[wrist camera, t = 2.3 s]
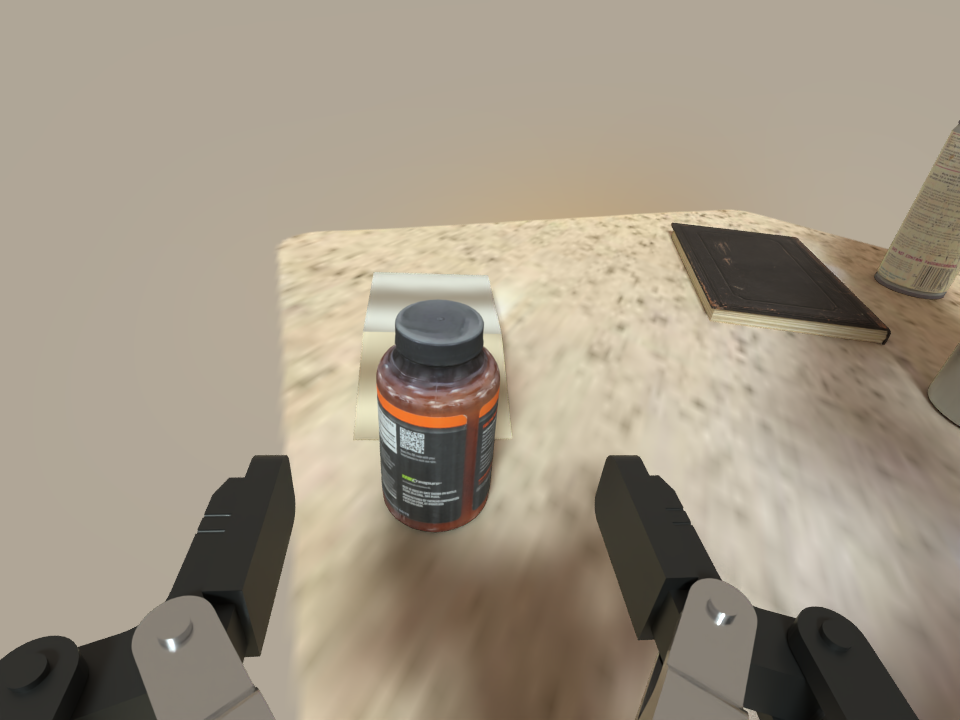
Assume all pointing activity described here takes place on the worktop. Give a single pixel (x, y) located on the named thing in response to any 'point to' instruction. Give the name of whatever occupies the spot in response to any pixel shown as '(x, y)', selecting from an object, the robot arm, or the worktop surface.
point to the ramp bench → (380, 334)
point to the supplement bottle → (437, 416)
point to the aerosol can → (929, 233)
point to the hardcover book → (771, 284)
